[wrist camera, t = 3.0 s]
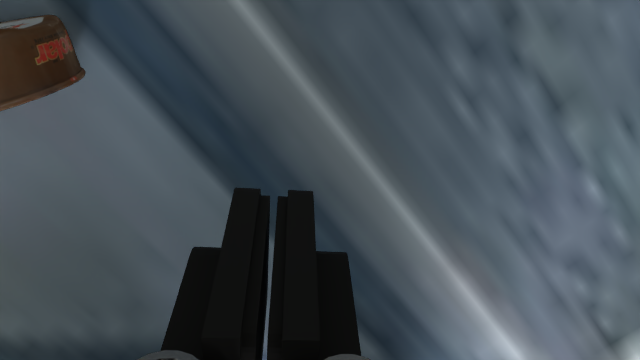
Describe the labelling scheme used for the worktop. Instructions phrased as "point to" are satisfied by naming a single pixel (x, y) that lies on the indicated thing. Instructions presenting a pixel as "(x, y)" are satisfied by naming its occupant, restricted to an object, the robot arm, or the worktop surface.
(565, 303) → the worktop surface
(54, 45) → the tin
